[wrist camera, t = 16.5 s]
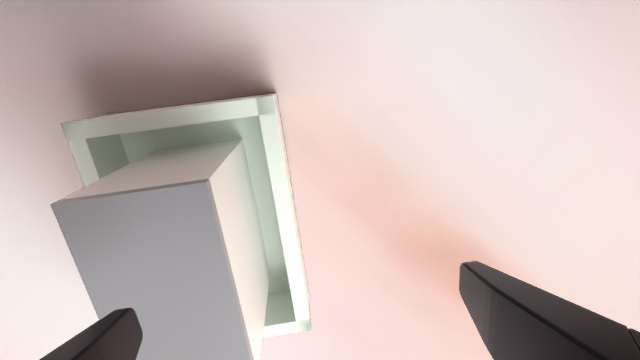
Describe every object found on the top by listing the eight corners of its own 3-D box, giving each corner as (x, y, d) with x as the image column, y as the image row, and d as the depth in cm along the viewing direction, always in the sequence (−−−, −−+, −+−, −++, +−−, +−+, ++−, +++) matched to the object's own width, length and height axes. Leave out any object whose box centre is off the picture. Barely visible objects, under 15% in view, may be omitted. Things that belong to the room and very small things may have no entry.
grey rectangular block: (242, 138, 18) (206, 182, 10) (270, 273, 21) (257, 385, 13) (153, 151, 18) (50, 204, 10) (193, 285, 21) (135, 405, 13)
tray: (276, 92, 18) (273, 95, 15) (308, 292, 22) (311, 330, 19) (104, 115, 18) (60, 123, 14) (170, 314, 22) (148, 356, 18)
